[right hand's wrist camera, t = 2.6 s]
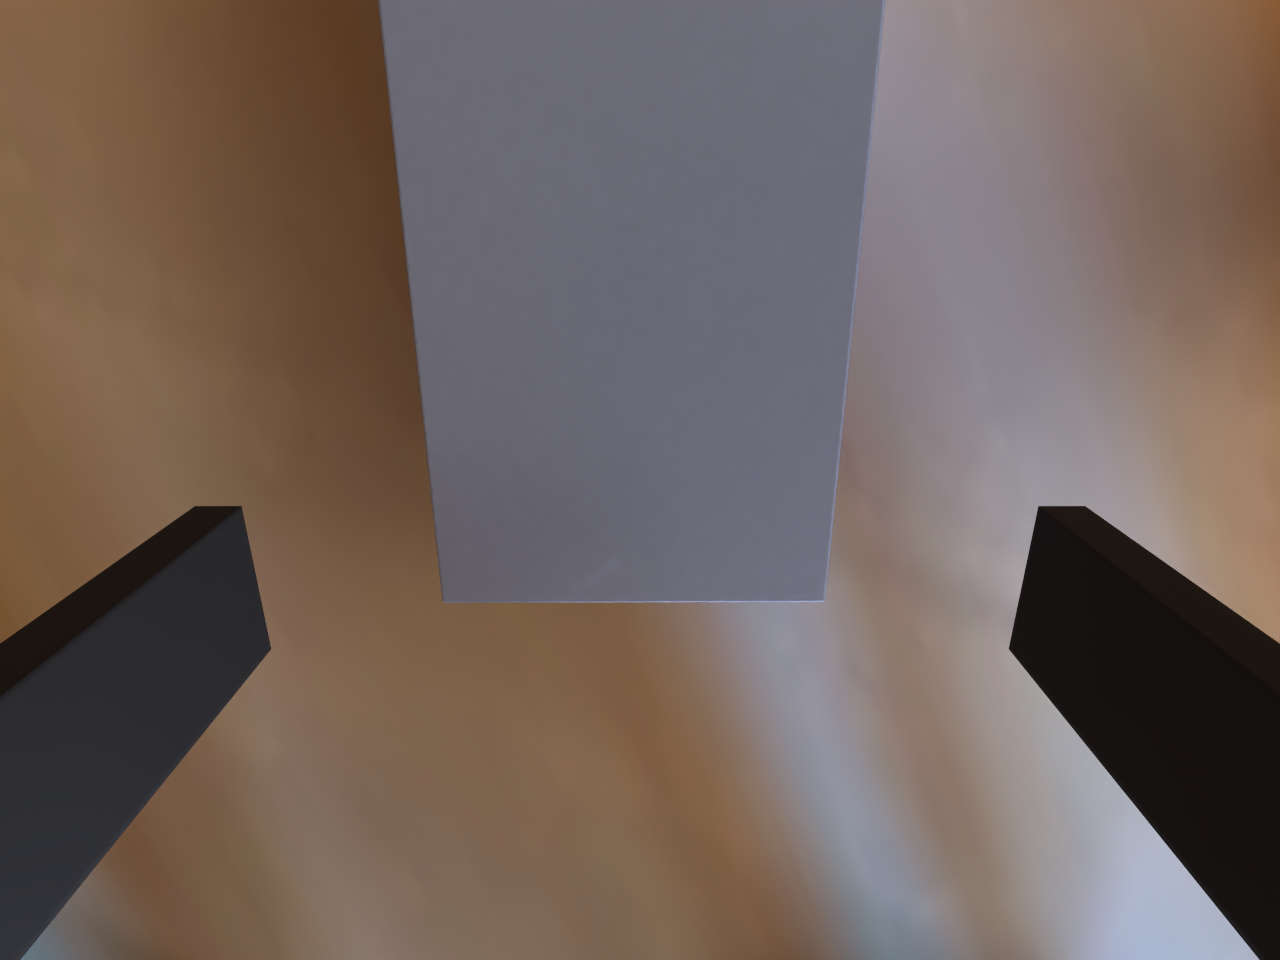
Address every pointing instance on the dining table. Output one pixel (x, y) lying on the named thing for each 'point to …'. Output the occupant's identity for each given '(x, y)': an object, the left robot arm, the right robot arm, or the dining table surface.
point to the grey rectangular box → (632, 287)
